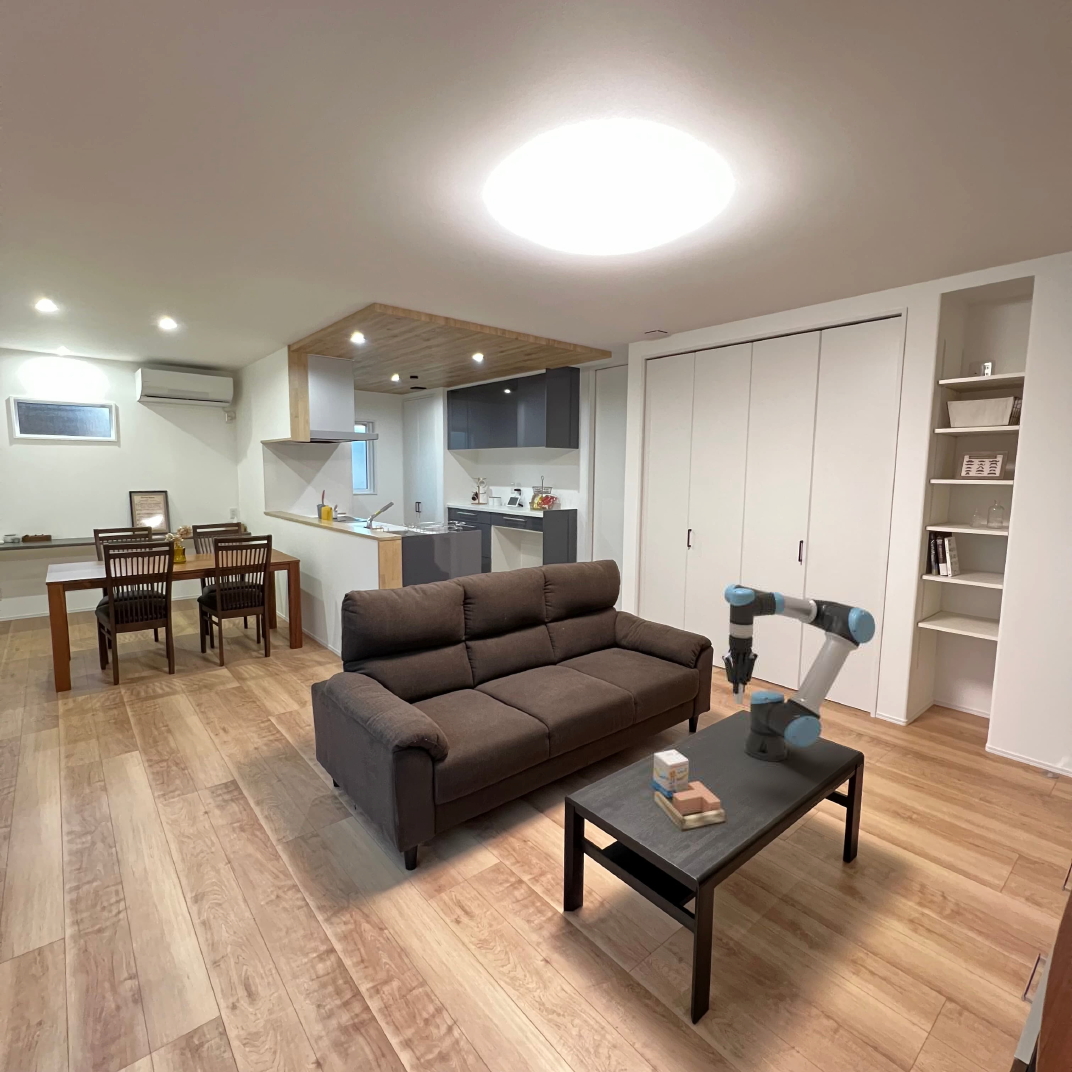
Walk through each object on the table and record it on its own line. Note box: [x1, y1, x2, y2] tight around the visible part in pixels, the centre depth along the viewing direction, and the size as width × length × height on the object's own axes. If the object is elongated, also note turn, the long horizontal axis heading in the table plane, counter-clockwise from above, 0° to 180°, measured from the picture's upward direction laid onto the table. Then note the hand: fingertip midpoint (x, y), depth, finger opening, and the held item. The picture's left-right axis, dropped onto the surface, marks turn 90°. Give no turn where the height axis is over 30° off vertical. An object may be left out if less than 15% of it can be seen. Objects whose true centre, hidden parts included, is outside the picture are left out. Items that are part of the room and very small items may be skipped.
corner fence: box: [654, 790, 726, 831], centre depth 180 cm, size 15×16×3 cm
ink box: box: [652, 749, 690, 799], centre depth 191 cm, size 9×8×12 cm
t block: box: [672, 780, 722, 816], centre depth 181 cm, size 12×12×5 cm
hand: (738, 702), depth 194 cm, fingers closed
